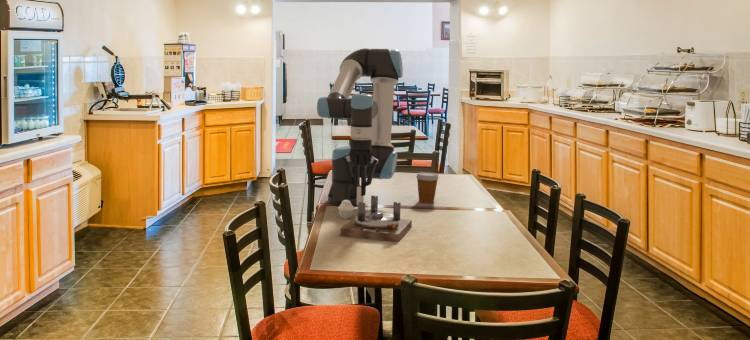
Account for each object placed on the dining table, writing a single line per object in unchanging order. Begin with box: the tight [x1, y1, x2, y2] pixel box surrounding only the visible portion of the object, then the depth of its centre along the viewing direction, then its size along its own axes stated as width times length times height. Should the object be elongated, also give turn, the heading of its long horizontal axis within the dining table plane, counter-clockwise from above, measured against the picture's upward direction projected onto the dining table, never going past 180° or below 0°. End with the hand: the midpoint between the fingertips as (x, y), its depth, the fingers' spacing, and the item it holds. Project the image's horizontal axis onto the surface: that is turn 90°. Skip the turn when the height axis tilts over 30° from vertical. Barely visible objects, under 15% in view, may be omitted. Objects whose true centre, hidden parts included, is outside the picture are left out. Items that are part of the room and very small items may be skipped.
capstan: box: [355, 195, 402, 229], centre depth 206 cm, size 16×15×8 cm
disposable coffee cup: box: [415, 171, 440, 204], centre depth 254 cm, size 10×10×12 cm
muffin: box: [337, 200, 355, 220], centre depth 224 cm, size 6×6×7 cm
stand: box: [339, 216, 413, 243], centre depth 206 cm, size 20×20×3 cm
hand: (359, 204), depth 214 cm, fingers closed
